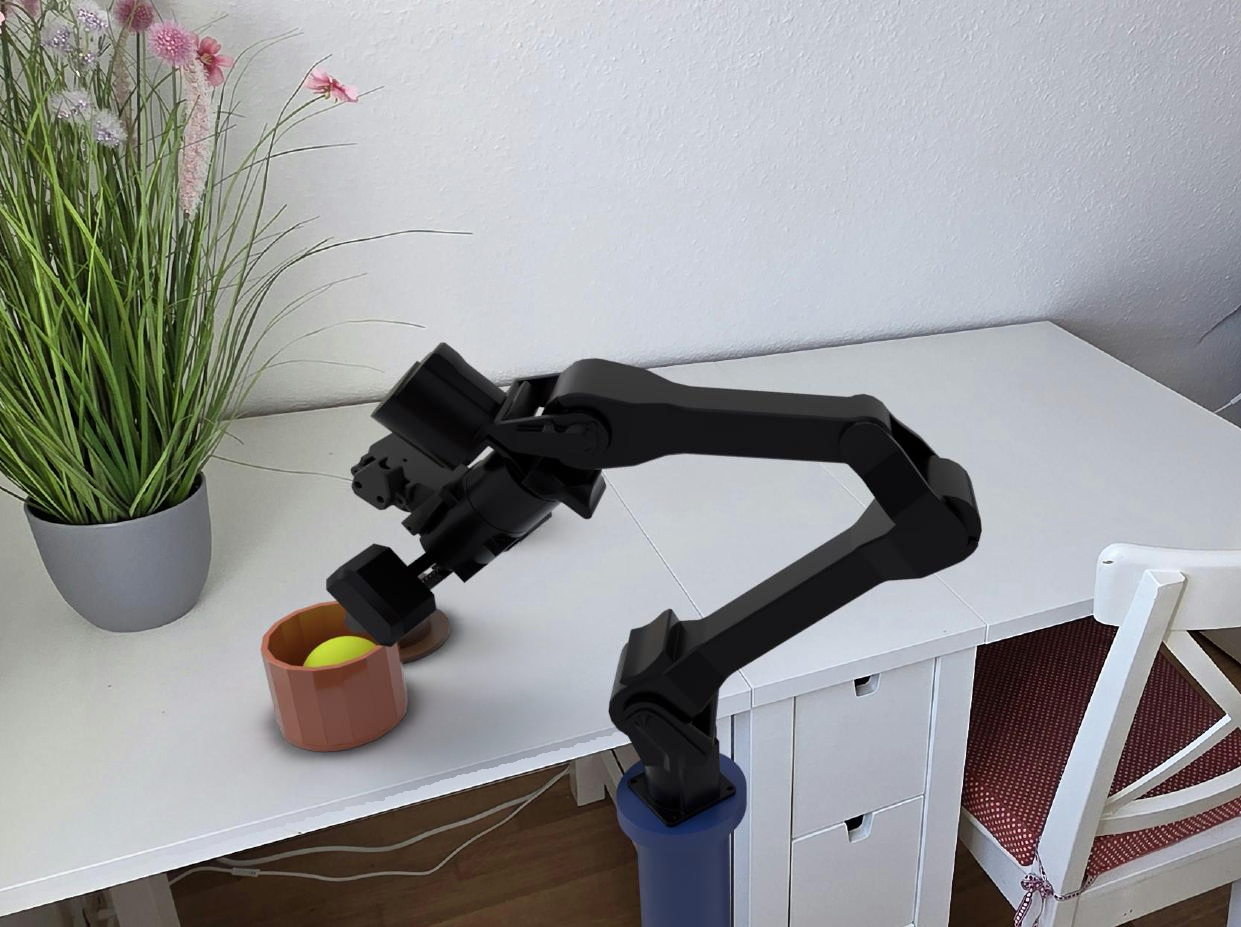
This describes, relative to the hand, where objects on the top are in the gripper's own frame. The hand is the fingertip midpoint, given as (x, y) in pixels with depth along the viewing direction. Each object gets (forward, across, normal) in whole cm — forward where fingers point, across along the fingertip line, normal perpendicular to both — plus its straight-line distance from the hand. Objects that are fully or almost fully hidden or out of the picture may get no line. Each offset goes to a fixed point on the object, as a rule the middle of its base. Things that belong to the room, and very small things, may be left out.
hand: (391, 594), depth 94 cm
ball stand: (+16, -10, +2) cm, 20 cm away
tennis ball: (+11, 0, +2) cm, 11 cm away
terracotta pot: (+14, 0, +5) cm, 15 cm away
